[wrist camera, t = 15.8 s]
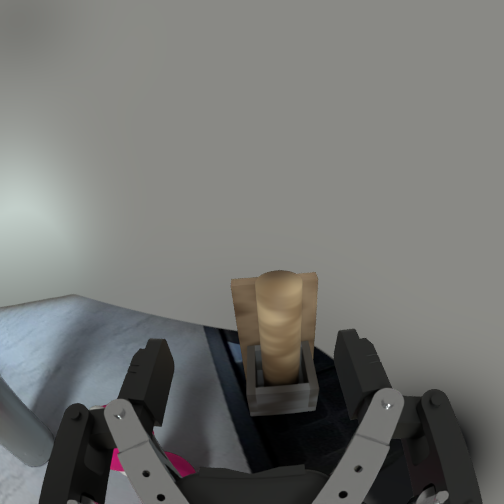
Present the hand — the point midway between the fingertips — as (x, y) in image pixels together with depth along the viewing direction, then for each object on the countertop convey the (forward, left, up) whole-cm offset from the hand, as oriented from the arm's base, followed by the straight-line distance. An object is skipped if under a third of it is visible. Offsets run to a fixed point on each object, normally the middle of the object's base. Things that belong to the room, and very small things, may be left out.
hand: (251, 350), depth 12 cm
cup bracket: (+2, +14, -25) cm, 29 cm away
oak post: (+2, +13, -20) cm, 24 cm away
